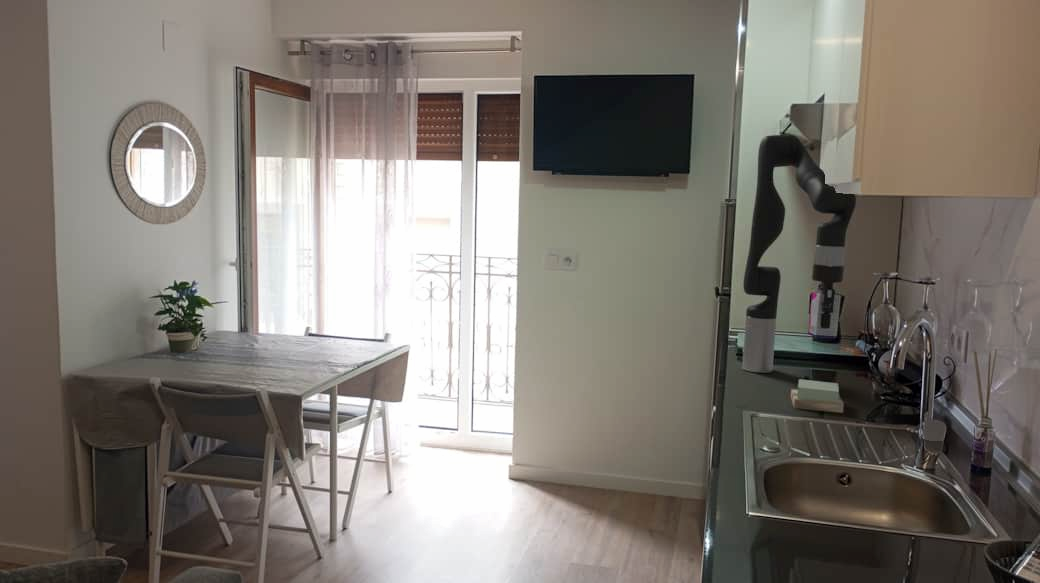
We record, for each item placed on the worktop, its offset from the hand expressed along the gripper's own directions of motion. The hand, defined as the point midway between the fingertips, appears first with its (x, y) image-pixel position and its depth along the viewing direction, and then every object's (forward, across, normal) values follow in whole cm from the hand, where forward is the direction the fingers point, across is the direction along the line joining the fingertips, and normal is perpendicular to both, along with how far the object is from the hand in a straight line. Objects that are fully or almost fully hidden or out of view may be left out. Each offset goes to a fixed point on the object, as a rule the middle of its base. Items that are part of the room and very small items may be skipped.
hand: (823, 325), depth 206 cm
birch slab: (+22, 0, 0) cm, 22 cm away
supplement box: (+3, 0, 0) cm, 3 cm away
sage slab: (+19, 0, 0) cm, 19 cm away
